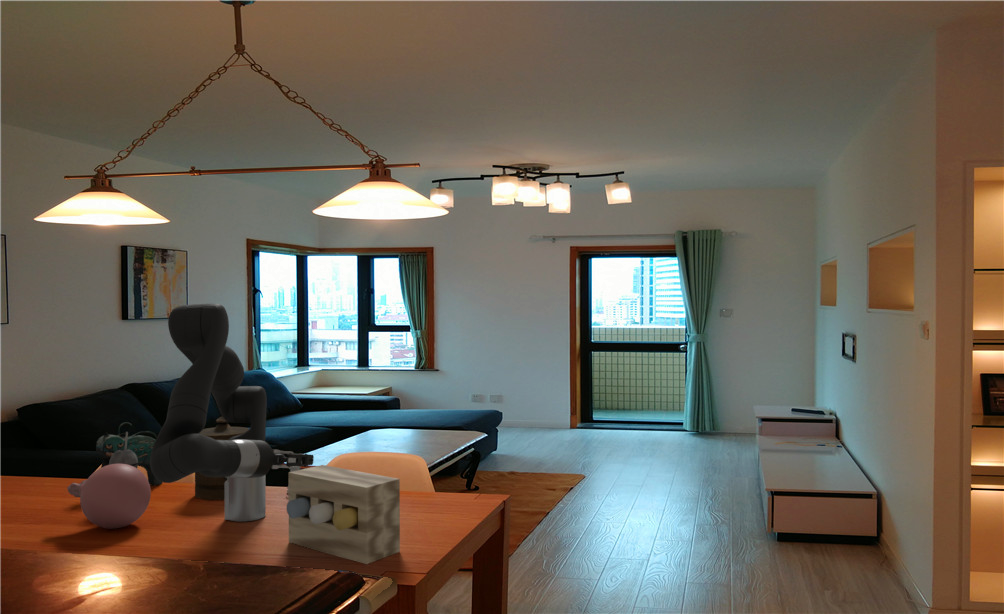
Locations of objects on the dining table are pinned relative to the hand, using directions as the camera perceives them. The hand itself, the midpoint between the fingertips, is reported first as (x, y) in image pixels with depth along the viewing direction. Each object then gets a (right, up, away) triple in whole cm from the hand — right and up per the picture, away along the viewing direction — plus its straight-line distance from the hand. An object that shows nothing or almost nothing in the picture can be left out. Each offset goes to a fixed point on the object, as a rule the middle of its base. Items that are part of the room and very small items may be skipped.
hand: (296, 459), depth 172 cm
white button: (+6, -13, -1) cm, 15 cm away
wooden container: (-34, -20, +52) cm, 66 cm away
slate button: (0, -13, +4) cm, 14 cm away
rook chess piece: (-14, -20, +54) cm, 60 cm away
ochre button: (+12, -13, -5) cm, 19 cm away
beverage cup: (-56, -20, +38) cm, 70 cm away
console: (+10, -20, +4) cm, 23 cm away
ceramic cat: (-63, -20, +58) cm, 88 cm away
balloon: (-51, -21, +20) cm, 59 cm away
